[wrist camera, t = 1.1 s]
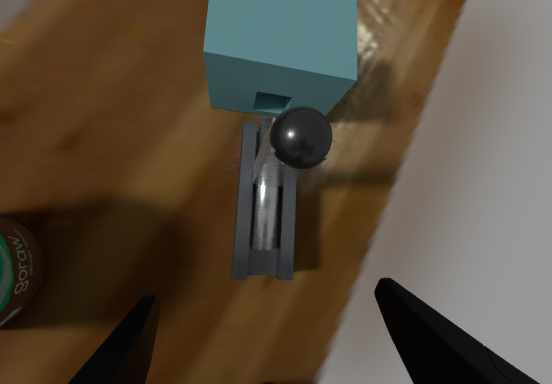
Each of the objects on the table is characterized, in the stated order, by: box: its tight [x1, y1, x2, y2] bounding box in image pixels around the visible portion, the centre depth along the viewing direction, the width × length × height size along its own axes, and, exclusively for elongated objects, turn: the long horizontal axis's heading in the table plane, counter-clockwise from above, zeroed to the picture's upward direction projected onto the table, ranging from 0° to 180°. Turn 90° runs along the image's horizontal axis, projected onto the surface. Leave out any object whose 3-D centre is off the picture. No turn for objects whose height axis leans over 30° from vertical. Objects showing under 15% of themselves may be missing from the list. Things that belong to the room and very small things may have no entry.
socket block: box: [203, 0, 357, 117], centre depth 22 cm, size 8×12×8 cm, turn 87°
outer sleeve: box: [232, 121, 297, 280], centre depth 22 cm, size 14×5×3 cm, turn 177°
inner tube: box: [251, 105, 332, 250], centre depth 17 cm, size 12×3×13 cm, turn 177°
